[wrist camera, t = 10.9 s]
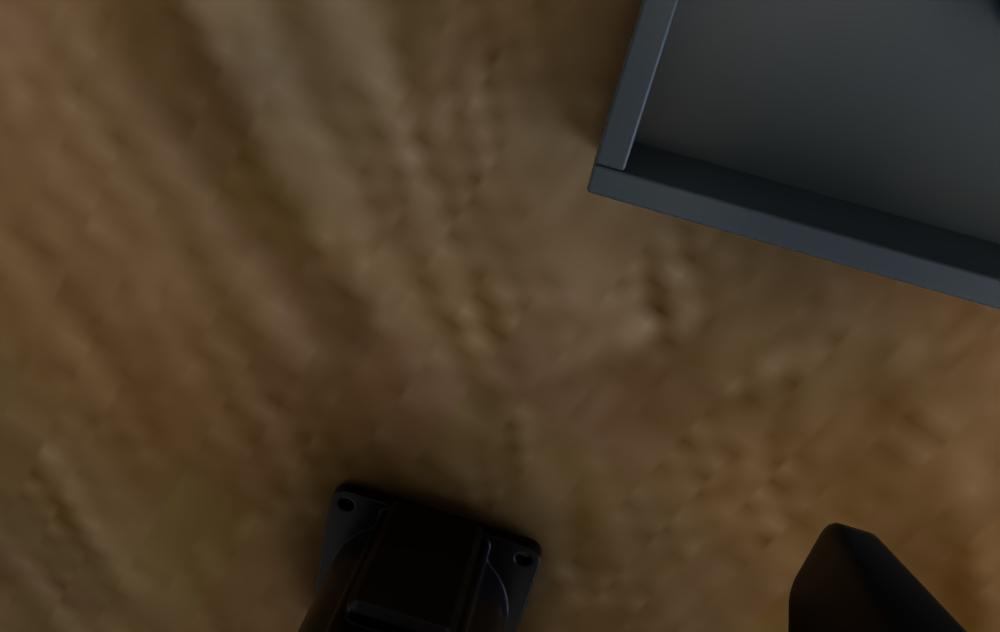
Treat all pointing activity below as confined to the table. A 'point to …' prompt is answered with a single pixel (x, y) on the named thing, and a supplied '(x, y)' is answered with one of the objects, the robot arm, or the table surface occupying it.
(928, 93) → the tray
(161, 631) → the table surface
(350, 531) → the robot arm
